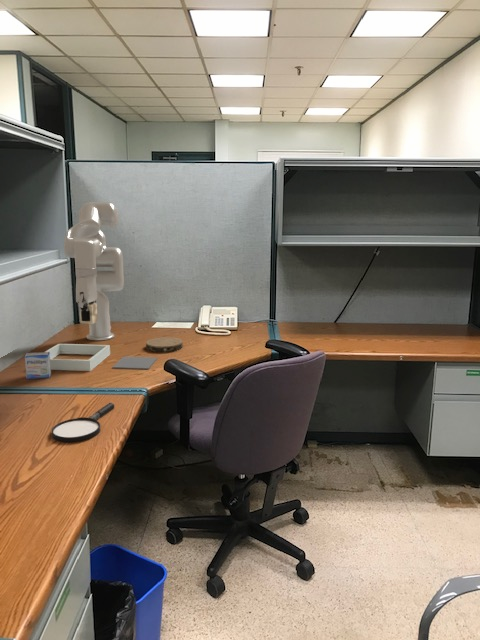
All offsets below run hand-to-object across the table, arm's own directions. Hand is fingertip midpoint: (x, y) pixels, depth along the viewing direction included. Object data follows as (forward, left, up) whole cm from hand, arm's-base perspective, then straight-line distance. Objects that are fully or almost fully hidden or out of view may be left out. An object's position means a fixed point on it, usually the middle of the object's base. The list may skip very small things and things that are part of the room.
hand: (88, 319), depth 190 cm
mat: (0, +18, -18) cm, 25 cm away
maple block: (0, 0, -1) cm, 1 cm away
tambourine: (-24, +24, -18) cm, 38 cm away
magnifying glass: (+56, +21, -18) cm, 63 cm away
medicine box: (+19, -12, -18) cm, 29 cm away
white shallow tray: (0, -7, -18) cm, 19 cm away
